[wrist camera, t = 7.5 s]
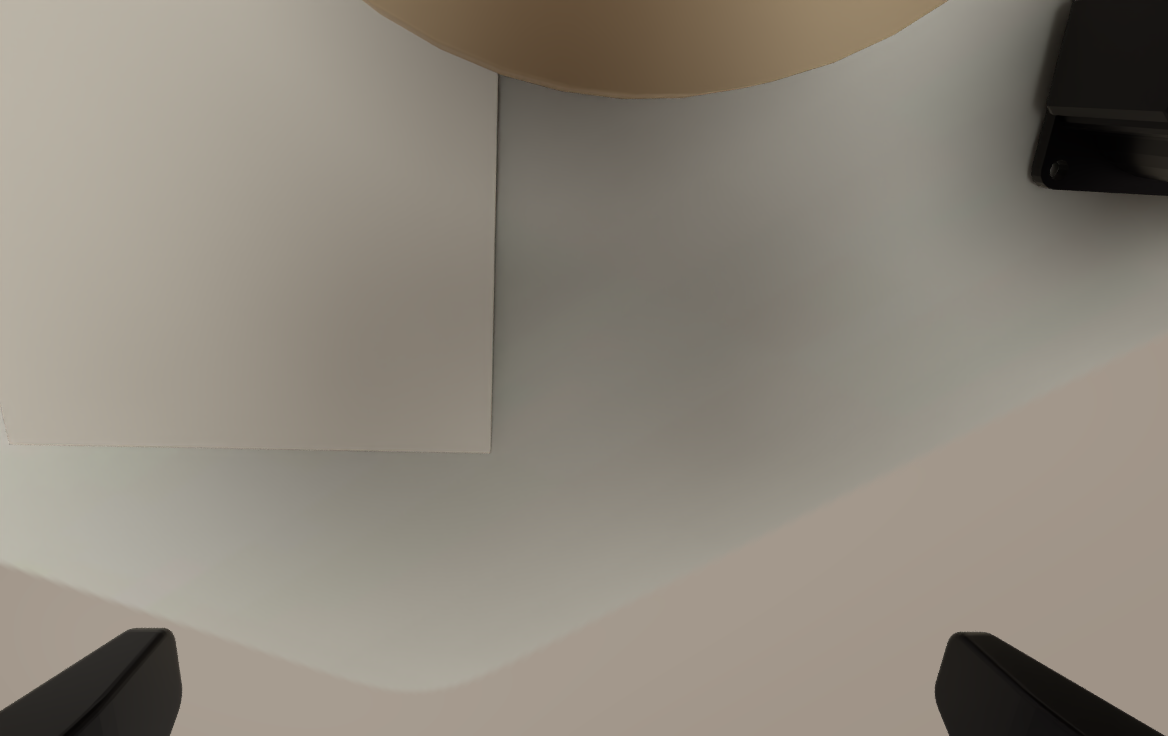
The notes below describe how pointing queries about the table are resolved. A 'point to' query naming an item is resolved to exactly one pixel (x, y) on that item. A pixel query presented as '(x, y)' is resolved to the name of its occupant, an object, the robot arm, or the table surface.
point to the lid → (652, 39)
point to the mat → (243, 228)
